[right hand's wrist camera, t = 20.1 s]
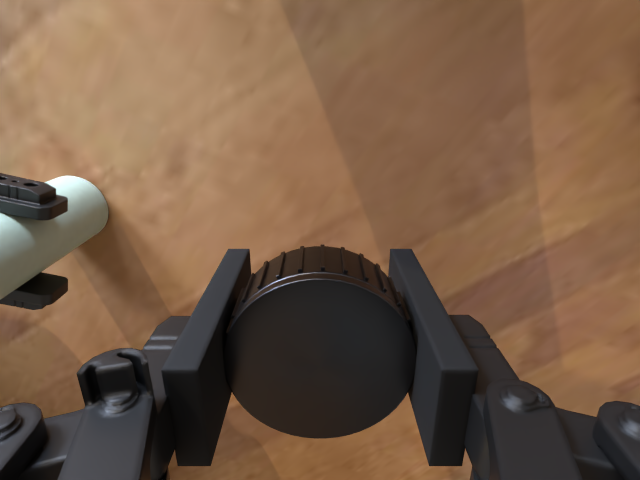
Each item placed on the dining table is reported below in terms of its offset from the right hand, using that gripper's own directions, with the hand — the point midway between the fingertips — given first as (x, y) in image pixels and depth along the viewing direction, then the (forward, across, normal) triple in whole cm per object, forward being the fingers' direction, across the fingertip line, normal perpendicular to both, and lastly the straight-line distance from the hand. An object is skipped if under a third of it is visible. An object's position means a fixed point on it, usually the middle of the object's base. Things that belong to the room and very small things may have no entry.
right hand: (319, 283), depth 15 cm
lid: (-4, 0, 0) cm, 4 cm away
